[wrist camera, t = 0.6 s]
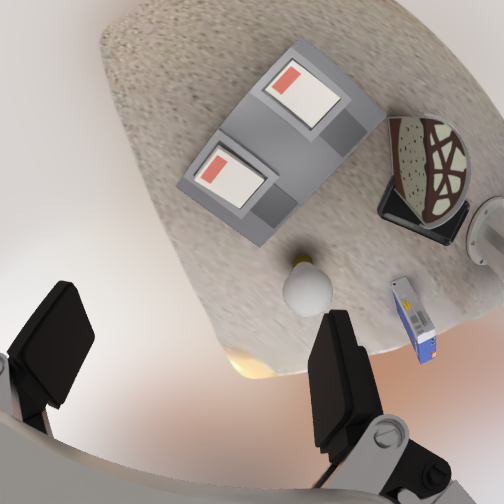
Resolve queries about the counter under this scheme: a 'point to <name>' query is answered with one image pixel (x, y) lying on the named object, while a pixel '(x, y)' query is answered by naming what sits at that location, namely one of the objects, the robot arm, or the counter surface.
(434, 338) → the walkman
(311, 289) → the light bulb
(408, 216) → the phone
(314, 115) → the rocker
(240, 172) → the rocker
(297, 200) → the rocker switch panel
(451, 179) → the food container
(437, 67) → the counter surface
